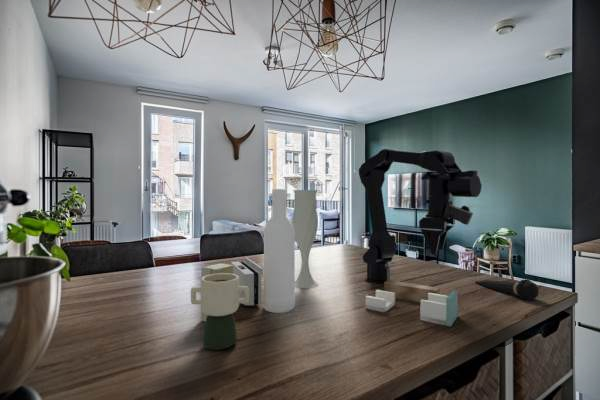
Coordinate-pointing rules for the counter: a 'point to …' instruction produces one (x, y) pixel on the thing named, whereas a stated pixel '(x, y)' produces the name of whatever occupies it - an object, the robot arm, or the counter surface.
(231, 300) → the character mug
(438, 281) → the counter surface
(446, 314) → the rail brackets
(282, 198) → the bottle
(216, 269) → the skincare box
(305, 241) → the vase
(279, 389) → the counter surface
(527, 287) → the microphone
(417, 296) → the rail
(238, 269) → the bracket
